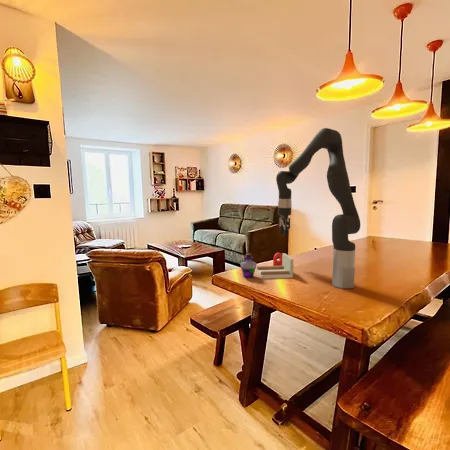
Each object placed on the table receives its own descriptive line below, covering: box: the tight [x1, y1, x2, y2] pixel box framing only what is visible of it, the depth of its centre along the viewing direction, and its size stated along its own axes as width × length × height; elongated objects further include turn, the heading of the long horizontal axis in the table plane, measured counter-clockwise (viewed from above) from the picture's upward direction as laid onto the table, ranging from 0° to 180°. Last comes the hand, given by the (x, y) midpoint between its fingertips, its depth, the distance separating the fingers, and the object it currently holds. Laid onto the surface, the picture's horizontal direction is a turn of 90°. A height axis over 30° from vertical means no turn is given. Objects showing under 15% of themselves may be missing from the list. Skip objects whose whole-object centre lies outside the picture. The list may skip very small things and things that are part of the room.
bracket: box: [272, 252, 282, 266], centre depth 167 cm, size 12×4×8 cm, turn 122°
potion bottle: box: [240, 252, 258, 279], centre depth 147 cm, size 9×9×12 cm
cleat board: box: [255, 252, 294, 280], centre depth 151 cm, size 14×16×10 cm
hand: (283, 234), depth 165 cm, fingers open, 8 cm apart
